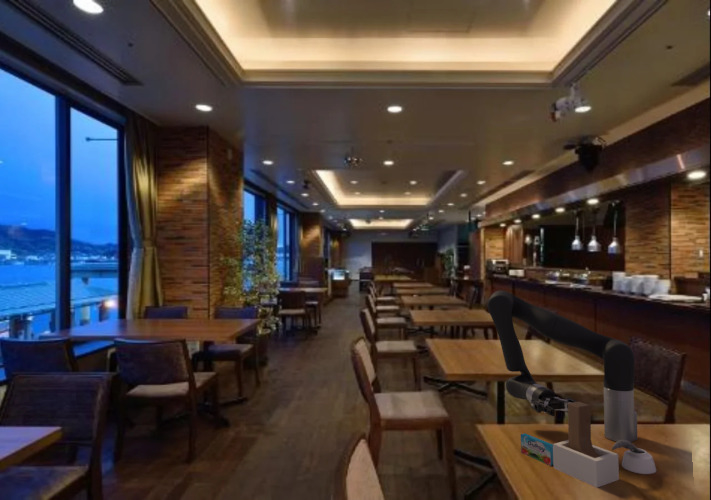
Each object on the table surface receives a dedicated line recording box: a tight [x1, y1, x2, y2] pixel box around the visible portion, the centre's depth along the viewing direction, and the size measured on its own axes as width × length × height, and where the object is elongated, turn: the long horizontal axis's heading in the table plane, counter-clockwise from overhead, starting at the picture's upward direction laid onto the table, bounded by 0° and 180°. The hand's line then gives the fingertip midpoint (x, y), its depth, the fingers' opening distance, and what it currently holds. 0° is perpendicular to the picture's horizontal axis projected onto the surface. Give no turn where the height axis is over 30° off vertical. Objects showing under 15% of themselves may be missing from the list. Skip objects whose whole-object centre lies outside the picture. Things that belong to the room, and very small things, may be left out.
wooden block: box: [567, 401, 601, 458], centre depth 146 cm, size 9×4×18 cm, turn 20°
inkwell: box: [611, 440, 657, 475], centre depth 148 cm, size 9×18×10 cm, turn 124°
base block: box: [552, 439, 620, 488], centre depth 147 cm, size 10×14×8 cm, turn 28°
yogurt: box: [520, 433, 554, 467], centre depth 158 cm, size 12×2×6 cm, turn 28°
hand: (566, 412), depth 156 cm, fingers open, 8 cm apart
